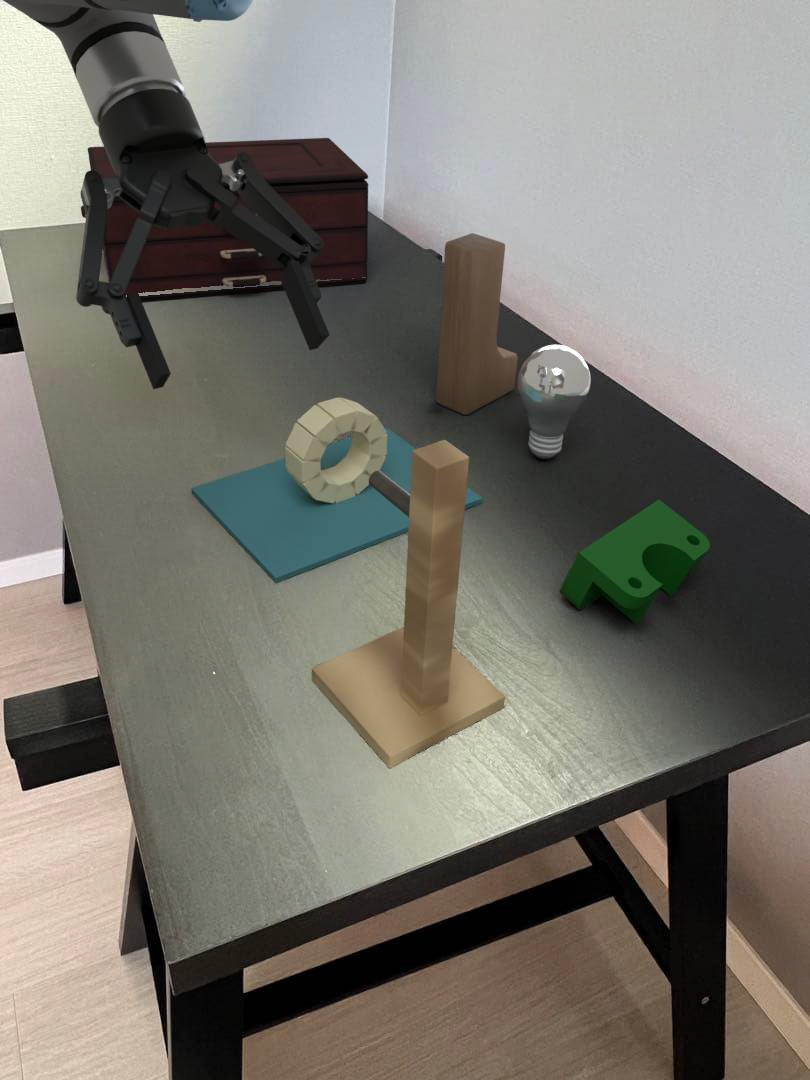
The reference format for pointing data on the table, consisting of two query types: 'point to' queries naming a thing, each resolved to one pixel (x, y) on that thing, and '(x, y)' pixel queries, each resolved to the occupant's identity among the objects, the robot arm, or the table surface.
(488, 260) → the wooden block
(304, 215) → the storage box
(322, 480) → the segmented ring
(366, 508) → the mat
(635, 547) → the clamp
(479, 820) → the table surface
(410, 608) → the hook stand
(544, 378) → the light bulb
